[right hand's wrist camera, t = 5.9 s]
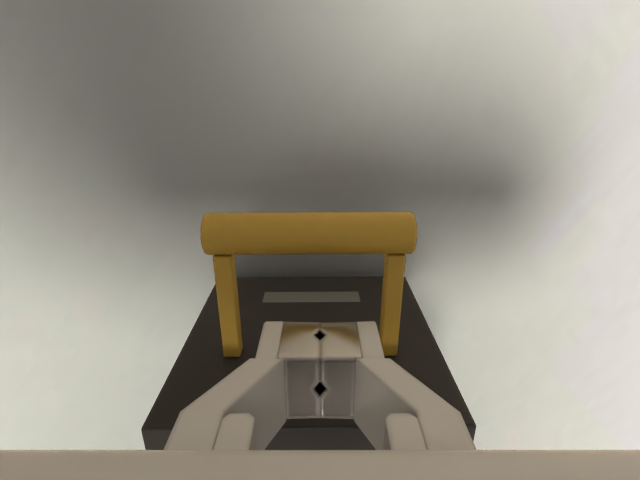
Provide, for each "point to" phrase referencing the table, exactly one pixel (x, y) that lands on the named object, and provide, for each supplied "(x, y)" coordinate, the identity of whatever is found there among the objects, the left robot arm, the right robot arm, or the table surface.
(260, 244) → the drawer
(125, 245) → the table surface
